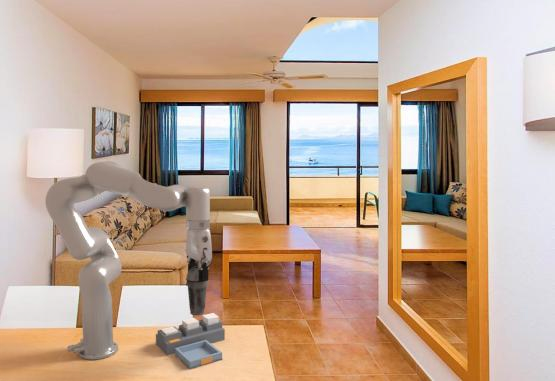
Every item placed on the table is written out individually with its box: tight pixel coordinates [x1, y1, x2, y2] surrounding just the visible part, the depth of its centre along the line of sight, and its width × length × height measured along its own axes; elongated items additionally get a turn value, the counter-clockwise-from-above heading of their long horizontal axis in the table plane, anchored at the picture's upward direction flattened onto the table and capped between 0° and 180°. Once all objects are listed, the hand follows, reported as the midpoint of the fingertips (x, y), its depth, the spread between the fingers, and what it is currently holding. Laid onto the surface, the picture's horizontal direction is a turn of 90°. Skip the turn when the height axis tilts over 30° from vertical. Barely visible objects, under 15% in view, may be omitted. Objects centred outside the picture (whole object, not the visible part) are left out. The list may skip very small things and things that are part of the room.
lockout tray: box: [174, 340, 223, 370], centre depth 155 cm, size 12×12×2 cm
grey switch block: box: [155, 312, 226, 356], centre depth 167 cm, size 22×10×8 cm, turn 126°
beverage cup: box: [185, 262, 210, 316], centre depth 153 cm, size 7×7×20 cm
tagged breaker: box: [160, 326, 178, 336], centre depth 162 cm, size 4×4×2 cm
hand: (197, 277), depth 153 cm, fingers closed on beverage cup, 7 cm apart
